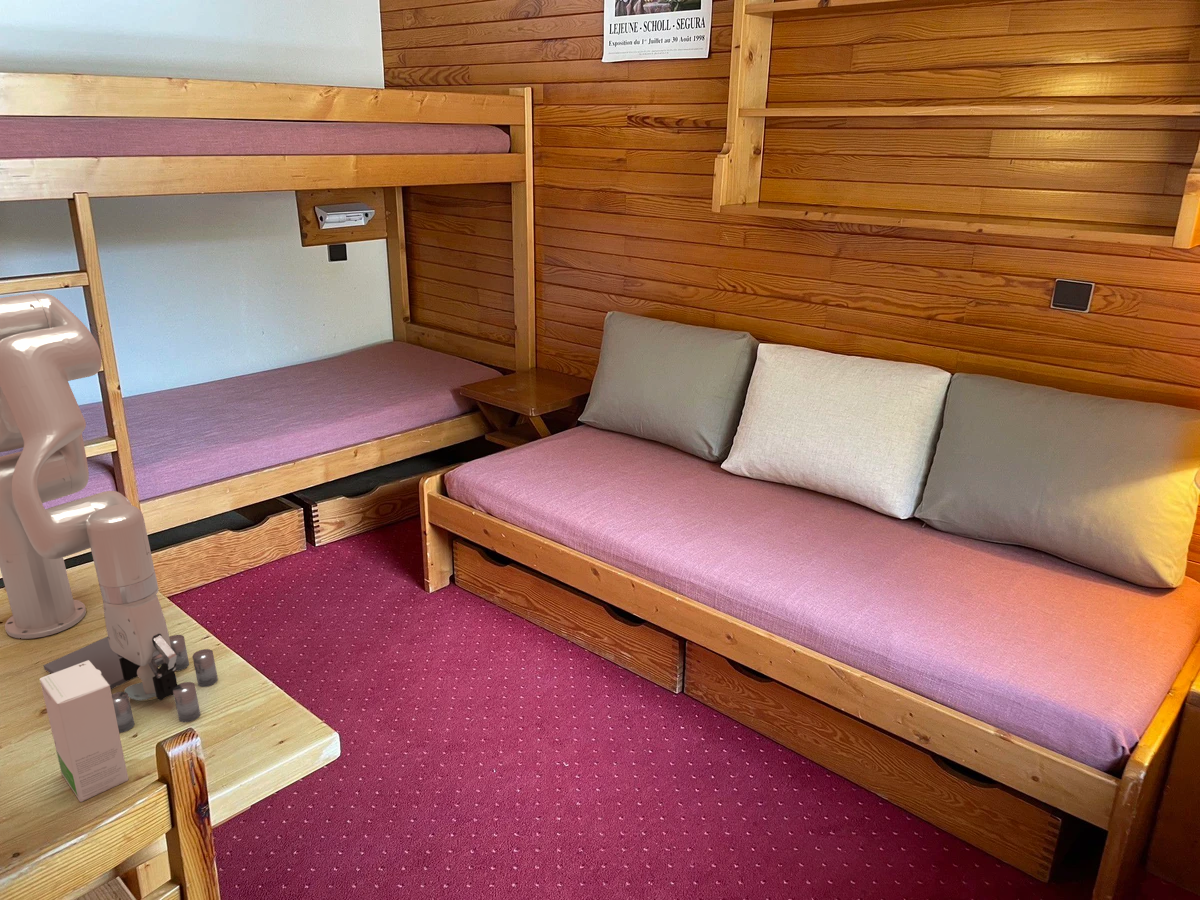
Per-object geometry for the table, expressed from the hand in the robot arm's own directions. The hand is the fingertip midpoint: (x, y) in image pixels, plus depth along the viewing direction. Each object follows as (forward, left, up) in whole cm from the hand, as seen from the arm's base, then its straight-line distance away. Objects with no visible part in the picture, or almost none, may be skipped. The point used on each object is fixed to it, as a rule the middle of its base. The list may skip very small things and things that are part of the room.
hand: (151, 685), depth 142 cm
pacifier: (-1, 0, -2) cm, 2 cm away
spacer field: (+3, 0, -2) cm, 3 cm away
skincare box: (+12, -15, -2) cm, 19 cm away
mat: (-15, +2, -2) cm, 15 cm away
